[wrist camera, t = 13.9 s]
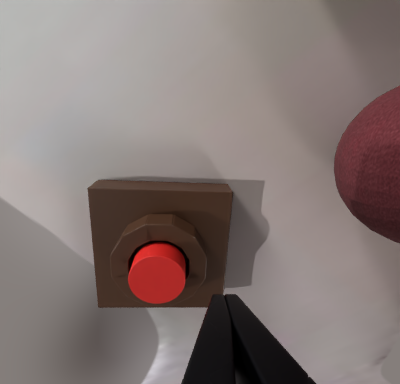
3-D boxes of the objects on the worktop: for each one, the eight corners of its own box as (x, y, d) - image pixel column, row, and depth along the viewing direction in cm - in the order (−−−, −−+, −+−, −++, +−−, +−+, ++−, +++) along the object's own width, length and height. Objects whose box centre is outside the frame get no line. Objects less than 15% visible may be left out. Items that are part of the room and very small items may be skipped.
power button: (186, 242, 17) (186, 256, 15) (184, 286, 18) (184, 303, 16) (132, 241, 17) (126, 255, 15) (134, 286, 18) (129, 304, 16)
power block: (228, 183, 20) (238, 201, 16) (218, 289, 23) (225, 325, 19) (98, 179, 19) (76, 196, 15) (106, 289, 22) (89, 326, 18)
